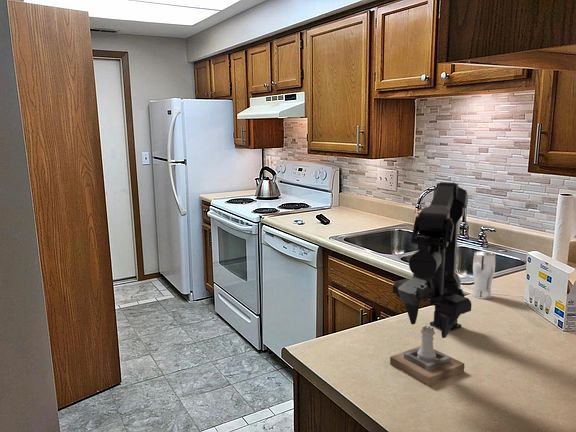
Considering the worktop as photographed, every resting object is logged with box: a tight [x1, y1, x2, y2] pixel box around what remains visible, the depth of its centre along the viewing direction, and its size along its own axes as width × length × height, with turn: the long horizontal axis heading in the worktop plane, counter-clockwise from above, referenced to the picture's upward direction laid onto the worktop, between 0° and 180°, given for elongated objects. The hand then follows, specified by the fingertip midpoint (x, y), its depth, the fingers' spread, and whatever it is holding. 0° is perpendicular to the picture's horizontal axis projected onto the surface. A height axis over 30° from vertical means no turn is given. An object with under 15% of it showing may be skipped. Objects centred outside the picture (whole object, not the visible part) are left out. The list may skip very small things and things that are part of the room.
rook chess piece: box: [417, 325, 436, 363], centre depth 111 cm, size 4×4×8 cm
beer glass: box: [472, 250, 496, 300], centre depth 160 cm, size 7×7×15 cm
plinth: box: [389, 345, 465, 387], centre depth 112 cm, size 12×12×3 cm
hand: (428, 330), depth 111 cm, fingers open, 9 cm apart
